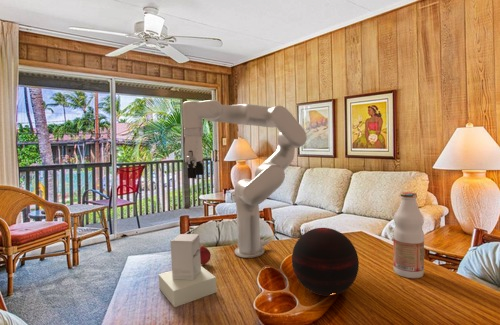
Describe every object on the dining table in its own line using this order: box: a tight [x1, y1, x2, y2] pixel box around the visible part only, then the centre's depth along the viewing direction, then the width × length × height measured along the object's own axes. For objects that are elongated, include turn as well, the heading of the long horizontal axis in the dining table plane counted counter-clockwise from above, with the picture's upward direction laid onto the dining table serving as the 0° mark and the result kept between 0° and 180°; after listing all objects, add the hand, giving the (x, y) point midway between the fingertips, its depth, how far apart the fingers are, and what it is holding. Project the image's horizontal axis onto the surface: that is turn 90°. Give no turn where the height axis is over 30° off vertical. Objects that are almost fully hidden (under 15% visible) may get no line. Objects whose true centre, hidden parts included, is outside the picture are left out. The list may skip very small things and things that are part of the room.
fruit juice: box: [392, 191, 425, 279], centre depth 104 cm, size 9×9×28 cm
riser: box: [158, 265, 218, 308], centre depth 99 cm, size 14×14×5 cm
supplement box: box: [170, 233, 202, 280], centre depth 99 cm, size 7×7×13 cm
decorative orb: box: [291, 227, 360, 297], centre depth 94 cm, size 20×20×20 cm
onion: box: [200, 244, 212, 266], centre depth 119 cm, size 6×6×8 cm
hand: (195, 176), depth 121 cm, fingers open, 9 cm apart
